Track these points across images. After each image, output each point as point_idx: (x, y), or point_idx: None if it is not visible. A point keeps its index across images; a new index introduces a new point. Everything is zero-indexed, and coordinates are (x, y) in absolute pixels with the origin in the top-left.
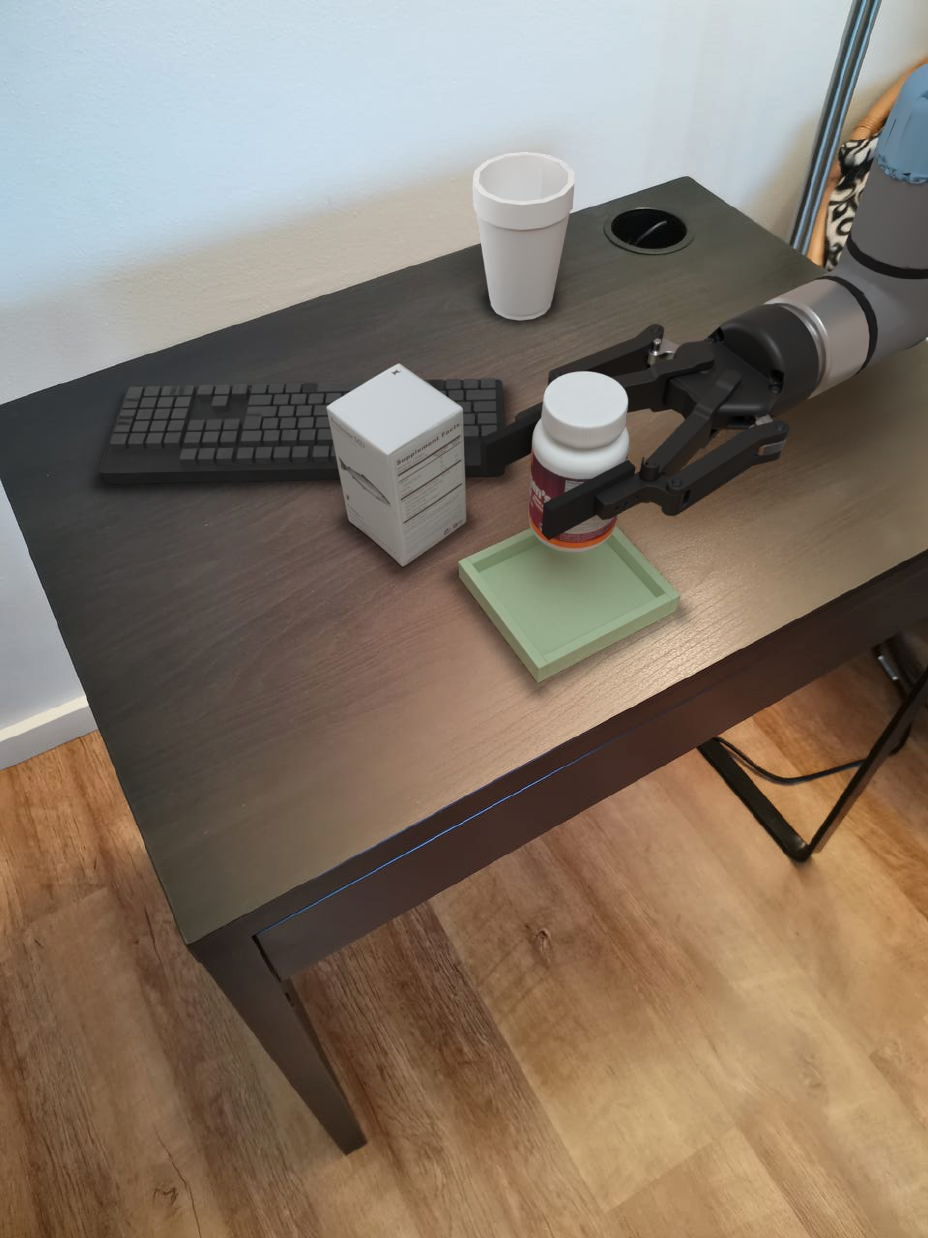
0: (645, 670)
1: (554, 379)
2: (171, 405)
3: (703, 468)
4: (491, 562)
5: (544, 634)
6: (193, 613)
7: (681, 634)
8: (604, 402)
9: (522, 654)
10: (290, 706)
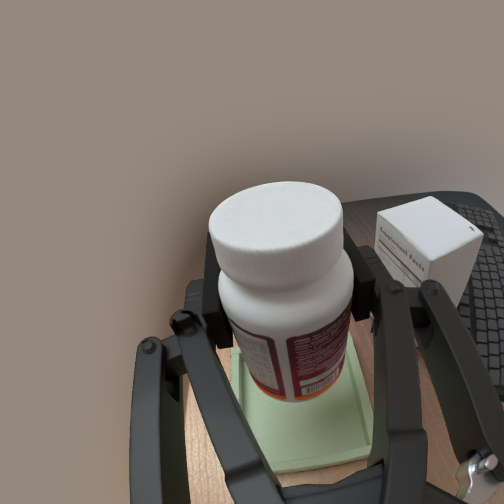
0: (202, 424)
1: (421, 283)
2: (484, 221)
3: (141, 391)
4: (346, 357)
5: None
6: (359, 227)
7: (214, 465)
8: (252, 224)
9: None
10: None
